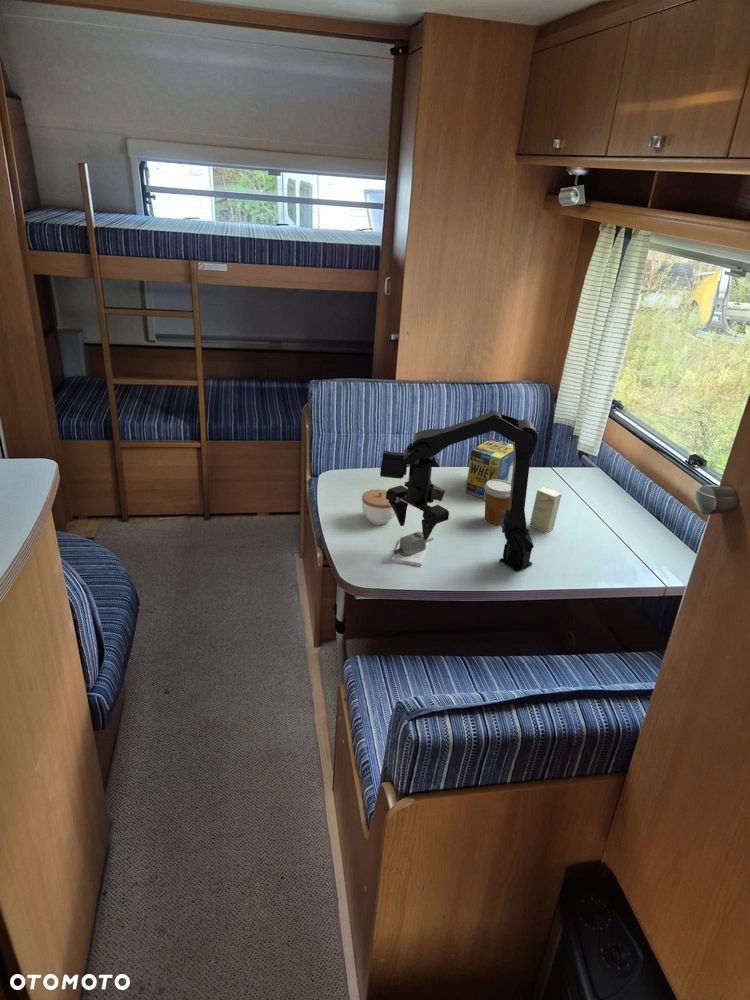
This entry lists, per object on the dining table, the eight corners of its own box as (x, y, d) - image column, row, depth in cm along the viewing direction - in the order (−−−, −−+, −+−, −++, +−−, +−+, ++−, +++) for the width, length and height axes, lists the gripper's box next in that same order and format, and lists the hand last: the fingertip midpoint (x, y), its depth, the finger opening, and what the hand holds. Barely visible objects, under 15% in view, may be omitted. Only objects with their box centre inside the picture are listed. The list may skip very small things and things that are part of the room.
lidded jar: (364, 529, 189) (366, 500, 185) (357, 512, 198) (359, 484, 194) (400, 528, 191) (402, 499, 187) (391, 511, 201) (394, 483, 197)
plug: (398, 559, 173) (400, 546, 171) (389, 554, 175) (391, 541, 173) (434, 546, 181) (435, 533, 179) (425, 541, 183) (426, 528, 181)
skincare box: (529, 525, 198) (536, 489, 193) (536, 521, 201) (543, 485, 196) (547, 533, 194) (555, 496, 189) (554, 529, 197) (562, 492, 192)
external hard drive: (428, 546, 184) (421, 568, 173) (400, 541, 185) (391, 563, 174) (429, 541, 183) (422, 563, 172) (400, 536, 184) (391, 557, 173)
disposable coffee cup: (515, 526, 197) (522, 491, 192) (487, 529, 194) (493, 492, 189) (501, 512, 205) (507, 477, 200) (474, 514, 202) (479, 479, 197)
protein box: (464, 493, 217) (470, 449, 210) (485, 479, 228) (491, 437, 222) (493, 502, 212) (500, 458, 205) (512, 488, 223) (520, 445, 217)
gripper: (467, 485, 168) (459, 538, 174) (416, 461, 180) (411, 512, 187) (436, 495, 161) (429, 550, 168) (386, 469, 173) (382, 521, 180)
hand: (413, 532), depth 176 cm, fingers open, 9 cm apart
